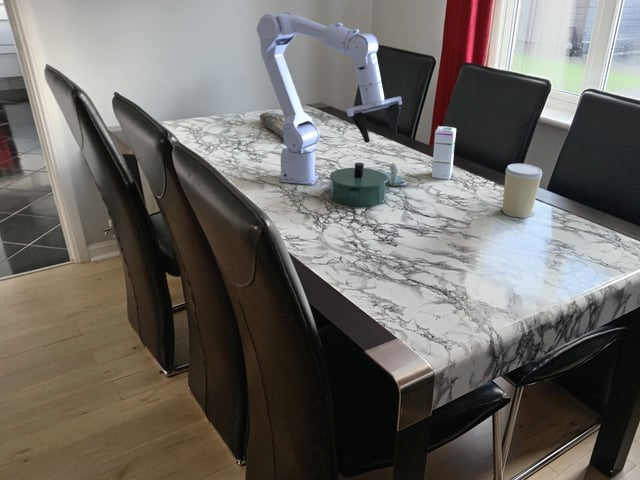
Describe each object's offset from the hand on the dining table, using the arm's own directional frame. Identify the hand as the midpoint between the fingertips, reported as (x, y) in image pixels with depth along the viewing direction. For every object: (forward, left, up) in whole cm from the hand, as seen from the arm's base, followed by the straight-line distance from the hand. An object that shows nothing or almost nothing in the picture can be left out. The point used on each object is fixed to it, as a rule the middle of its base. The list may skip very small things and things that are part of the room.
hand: (380, 138), depth 151 cm
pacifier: (+4, +12, -16) cm, 21 cm away
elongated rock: (-43, +58, -16) cm, 74 cm away
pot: (-5, -2, -16) cm, 17 cm away
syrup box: (+17, +23, -16) cm, 33 cm away
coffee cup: (+38, -2, -16) cm, 41 cm away
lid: (-5, -2, -11) cm, 12 cm away
